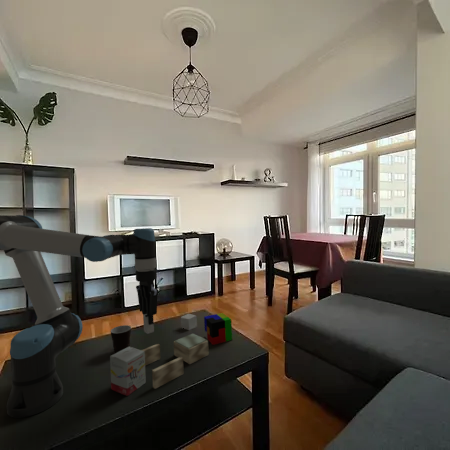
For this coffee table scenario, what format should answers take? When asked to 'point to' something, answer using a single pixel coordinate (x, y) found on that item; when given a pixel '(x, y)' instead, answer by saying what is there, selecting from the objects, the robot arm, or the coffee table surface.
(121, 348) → the coffee mug
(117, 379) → the ink box
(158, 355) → the wooden blocks
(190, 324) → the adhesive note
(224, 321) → the puzzle toy
